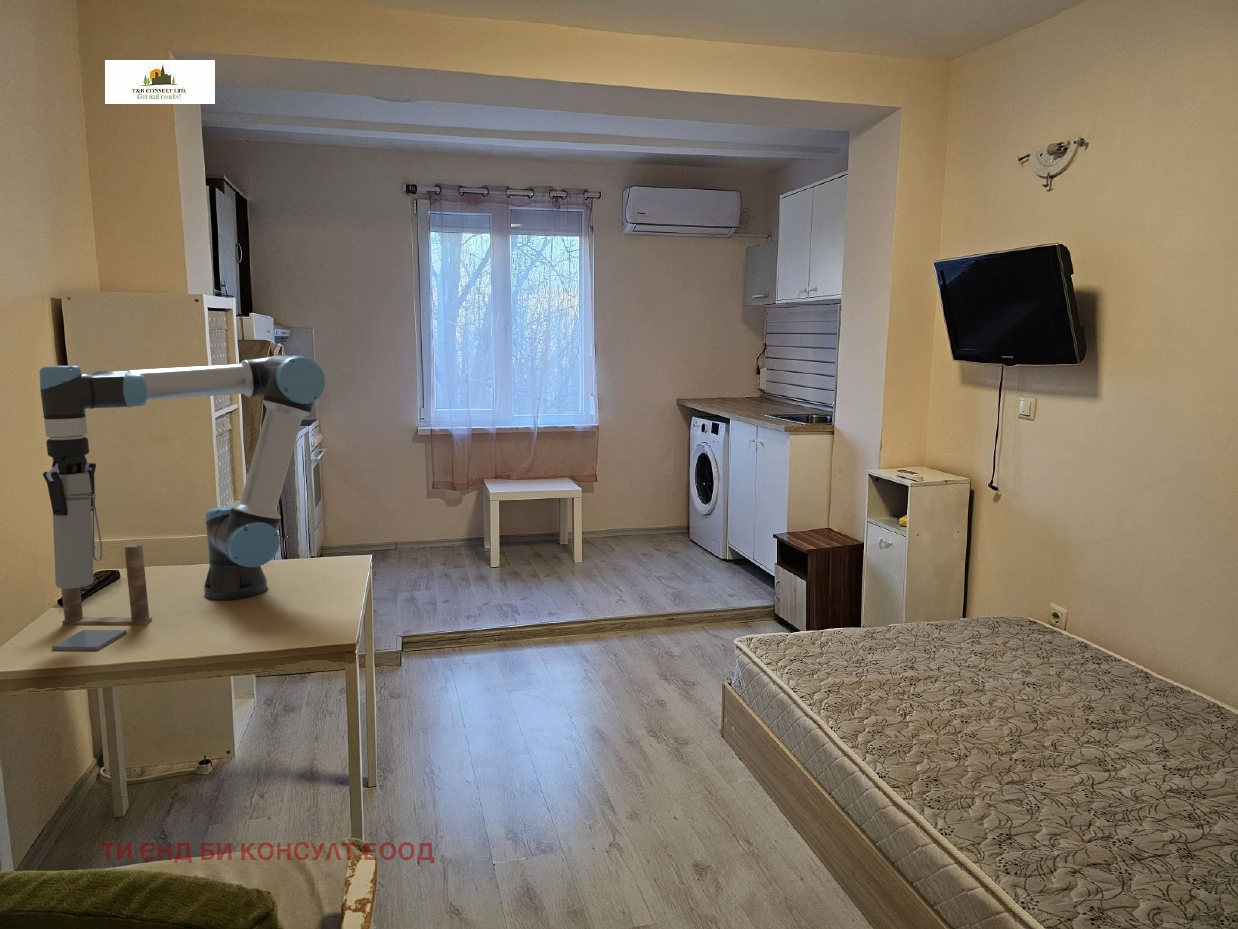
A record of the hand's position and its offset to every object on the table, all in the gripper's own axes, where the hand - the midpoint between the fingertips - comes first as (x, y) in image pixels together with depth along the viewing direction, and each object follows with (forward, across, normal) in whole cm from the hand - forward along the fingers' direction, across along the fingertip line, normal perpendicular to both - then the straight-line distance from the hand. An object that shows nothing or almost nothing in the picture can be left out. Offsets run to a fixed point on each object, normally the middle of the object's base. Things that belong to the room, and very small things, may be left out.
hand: (78, 542), depth 177 cm
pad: (+22, +2, +2) cm, 22 cm away
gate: (+22, -10, -2) cm, 24 cm away
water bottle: (+10, +1, 0) cm, 10 cm away
